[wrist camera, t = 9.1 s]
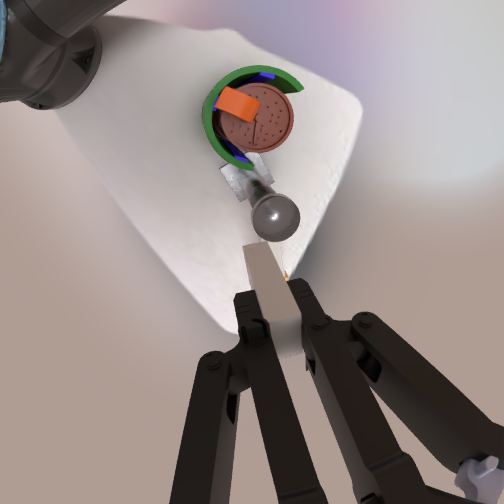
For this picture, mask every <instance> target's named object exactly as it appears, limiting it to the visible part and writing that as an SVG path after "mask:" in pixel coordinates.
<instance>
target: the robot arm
mask: <svg viewBox="0 0 504 504" xmlns="http://www.w3.org/2000/svg"><path fill="white" fill-rule="evenodd" d="M124 1H126V0H0V103H1V102H8V101H16V100H19V101H21V102H22V103H24V104H26V105H27V106H29V107H31V108H34V109H38V110H48V109H56V108H60V107H63V106H65V105H67V104H69V103H70V102H72V101H73V100H75V99H76V98H77V97H78V96H79V95H80V94H81V93H82V92H83V91H84V90H85V89H86V88H87V86H88V85H89V84H90V82H91V81H92V79H93V77H94V75H95V73H96V71H97V69H98V66H99V63H100V59H101V52H102V46H101V39H100V36H99V34H98V32H97V30H96V29H95V28H94V27H93V26H92V25H91V23H92V22H93V21H95V20H96V19H98V18H99V17H101V16H102V15H104V14H105V13H107V12H108V11H110V10H111V9H113V8H114V7H116V6H118V5H119V4H121V3H123V2H124ZM243 251H244V257H245V262H246V267H247V272H248V277H249V282H250V286H251V289H252V290H250V291H245V292H241V293H236V295H235V298H234V300H233V302H234V307H235V312H236V317H237V322H238V333H239V337H240V341H239V343H238V344H237V345H236V346H235V348H233V349H232V350H230V351H228V352H226V353H223V352H221V351H211V352H208V353H206V354H204V355H203V356H202V357H201V358H200V360H199V363H198V366H197V371H196V375H195V380H194V384H193V389H192V393H191V398H190V402H189V407H188V411H187V416H186V422H185V426H184V430H183V435H182V440H181V445H180V450H179V455H178V460H177V465H176V470H175V475H174V481H173V486H172V492H171V497H170V503H169V504H229V498H230V489H231V479H232V469H233V459H234V450H235V440H236V430H237V421H238V410H239V401H240V393H241V392H242V391H244V390H246V389H248V388H250V387H251V390H252V394H253V399H254V403H255V407H256V412H257V416H258V420H259V425H260V429H261V433H262V437H263V441H264V445H265V450H266V453H267V458H268V462H269V466H270V470H271V473H272V477H273V481H274V485H275V489H276V493H277V497H278V503H279V504H328V501H327V498H326V495H325V493H324V491H323V489H322V487H321V485H320V483H319V480H318V478H317V474H316V471H315V468H314V466H313V462H312V460H311V456H310V453H309V451H308V447H307V445H306V442H305V439H304V435H303V433H302V429H301V426H300V423H299V420H298V417H297V414H296V411H295V408H294V405H293V402H292V399H291V396H290V393H289V390H288V387H287V383H286V380H285V377H284V374H283V371H282V368H281V365H280V362H279V359H283V358H287V357H291V356H294V355H298V354H302V353H303V349H304V352H305V354H306V371H307V370H308V368H309V371H310V373H311V376H312V378H313V381H314V383H315V386H316V388H317V391H318V394H319V396H320V398H321V401H322V404H323V406H324V409H325V411H326V414H327V417H328V419H329V422H330V424H331V427H332V429H333V432H334V435H335V437H336V440H337V442H338V445H339V448H340V450H341V453H342V455H343V458H344V461H345V463H346V466H347V468H348V471H349V474H350V476H351V479H352V484H353V491H354V495H355V497H356V500H357V502H358V504H496V503H497V501H498V499H499V497H500V494H501V493H502V490H503V488H504V427H503V426H501V425H499V424H496V423H493V422H492V421H491V420H490V419H489V418H488V417H487V416H486V415H485V414H484V413H483V412H482V411H480V409H478V408H477V407H476V406H475V405H474V404H473V403H472V402H471V401H470V400H469V399H468V398H467V397H466V396H465V395H464V394H463V393H462V392H461V391H460V390H459V389H457V388H456V387H455V386H454V385H453V384H452V383H451V382H450V381H449V380H448V379H447V378H446V377H445V376H444V375H443V374H441V373H440V372H439V371H438V370H437V369H436V368H435V367H434V366H433V365H431V364H430V363H429V362H428V361H427V360H426V359H425V358H424V357H423V356H422V355H421V354H420V353H418V352H417V351H416V350H415V349H414V348H413V347H412V346H411V345H409V344H408V343H407V342H406V341H405V340H404V339H403V338H402V337H400V336H399V335H398V334H397V333H396V332H395V331H394V330H392V329H391V328H390V327H389V326H388V325H387V324H385V323H384V322H383V321H382V320H381V319H380V318H379V317H378V316H376V315H375V314H373V313H370V312H360V313H357V314H356V315H354V316H353V318H352V320H347V321H338V320H333V319H332V318H331V317H330V316H328V315H326V314H325V313H324V311H323V309H322V307H321V306H320V304H319V302H318V300H317V299H316V297H315V295H314V293H313V291H312V290H311V288H310V286H309V284H308V283H307V282H306V281H305V280H303V279H302V278H298V279H294V280H290V281H286V280H285V278H284V276H283V274H282V271H281V269H280V267H279V265H278V263H277V261H276V259H275V257H274V255H273V252H272V250H271V248H270V246H269V244H268V242H267V241H263V242H259V243H254V244H250V245H245V246H243ZM369 386H370V387H371V388H372V389H373V390H374V391H375V392H376V393H377V395H378V396H379V397H380V398H381V399H382V400H383V401H384V402H385V403H386V405H387V406H388V407H389V408H390V409H391V410H392V411H393V412H394V413H395V414H396V415H397V417H398V418H399V419H400V420H401V421H402V422H403V423H404V424H405V425H406V426H407V427H408V429H409V430H410V431H411V432H412V433H413V434H414V435H415V436H416V437H417V438H418V439H419V440H420V442H421V443H422V444H423V445H424V446H425V447H426V448H427V449H428V450H429V451H430V453H432V455H433V456H434V457H435V458H436V459H437V460H438V461H439V462H440V463H441V464H442V465H443V466H445V467H446V468H448V469H449V470H450V471H452V472H454V473H456V474H457V475H456V478H455V485H456V486H457V487H459V488H460V489H461V490H463V491H464V493H465V498H462V497H459V496H456V495H453V494H449V493H447V492H444V491H441V490H438V489H435V488H432V487H430V486H427V485H425V483H424V481H423V479H422V477H421V475H420V473H419V470H418V468H417V466H416V464H415V462H414V460H413V459H412V457H411V456H410V455H409V454H407V453H405V452H403V451H402V450H401V448H400V447H399V444H398V443H397V441H396V438H395V437H394V434H393V432H392V430H391V428H390V426H389V424H388V422H387V420H386V418H385V416H384V414H383V412H382V410H381V408H380V406H379V404H378V402H377V400H376V398H375V397H374V395H373V393H372V391H371V389H370V387H369Z"/></svg>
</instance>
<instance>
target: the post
mask: <svg viewBox="0 0 504 504" xmlns="http://www.w3.org/2000/svg"><path fill="white" fill-rule="evenodd" d="M244 154H245V155H246V156H247V157H248V158H249V159H250V160H251V161H252V162H253V163H254V168H253V171H249V170H244V169H241V168H238V167H236V166H234V165H232V164H230V163H228V164H226V165H224V166H223V167H221V168H219V169H220V171H221V173H222V174H223V176H224V177H225V179H226V180H227V182H228V183H229V185H230V186H231V188H232V190H233V191H234V193H235V194H236V196H237V197H238V199H239V200H240V202H242V201H243V200H245V199H247V198H248V200H249V202H250V204H251V206H252V208H253V209H252V213H251V221H252V224H253V227H254V229H255V231H256V233H257V234H258V235H259V236H260V237H261V238H262V239H264V240H266V241H269V242H280V241H283V240H286V239H288V238H289V237H290V236H292V235H293V234H294V233H295V231H296V230H297V228H298V226H299V223H300V212H299V209H298V207H297V206H296V205H295V204H294V202H293V201H292V200H291V199H290V198H289V197H287V196H285V195H283V194H278V193H275V191H274V190H273V189H272V188H271V187H270V184H272V183H274V182H275V181H274V180H273V178H272V176H271V174H270V173H269V171H268V169H267V167H266V166H265V164H264V162H263V161H262V159H261V157H260V155H259V154H258V153H252V152H246V153H244Z"/></svg>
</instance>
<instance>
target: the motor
mask: <svg viewBox="0 0 504 504" xmlns="http://www.w3.org/2000/svg"><path fill="white" fill-rule="evenodd" d="M236 85H237V87H238V88H236V89H232V88H230V86H236ZM222 89H223V91H222V93H221V94H220V96H219V97H217V96H218V95H219V93H220V92H221V90H222ZM303 89H304V87H303V86H302V85H301V84H300V82H298V81H297V80H296V79H295V78H294V77H293V76H291V75H290V74H288V73H286V72H285V71H283V70H280V69H278V68H274V67H270V66H262V65H257V66H248V67H244V68H241V69H238V70H236V71H234V72H232V73H230V74H228V75H227V76H225V77H224V78H223V79H222V80H221V81H220V82H219V83H218V84H217V85H216V86H215V87H214V89H213V90H212V91H211V93H210V94H209V96H208V97H207V99H206V100H205V103H204V105H203V109H202V122H203V125H204V128H205V131H206V134H207V137H208V139H209V141H210V143H211V145H212V147H213V148H214V150H215V151H216V152H217V153H218V154H219V155H220V156H221V157H222V158H223V159H224V160H226V161H227V162H228V163H230V164H232V165H234V166H236V167H238V168H241V169H244V170H249V171H253V168H254V163H253V162H252V161H251V160H250V159H249V158H248V157H247V156H246V155H245V154H244V153H243V152H242V151H241V150H240V149H242V150H244V151H247V152H252V153H263V152H268V151H271V150H273V149H275V148H277V147H278V146H280V145H281V144H282V143H283V142H284V141H285V140H286V139H287V137H288V136H289V134H290V132H291V130H292V127H293V121H294V114H293V109H292V106H291V104H290V102H289V100H288V98H287V97H286V96H285V95H284V94H287V93H295V92H300V91H301V90H303ZM212 124H213V126H214V128H215V130H216V131H217V132H218V133H219V134H220V135H221V136H222V137H224V138H226V139H228V140H230V141H228V140H225V139H222V138H221V139H219V138H218V137H216V136H215V134H214V131H213V127H212ZM231 142H232V143H233V144H232V143H231ZM237 147H238V148H240V149H238V148H237Z"/></svg>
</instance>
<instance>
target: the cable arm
mask: <svg viewBox="0 0 504 504" xmlns="http://www.w3.org/2000/svg"><path fill="white" fill-rule="evenodd" d="M258 237H259V242H263V241H266V240H264V239H262V238H261V237H260V236H259V235H258ZM267 242H268V244H269V246H270V248H271V250H272V252H273V255H274V257H275V259H276V261H277V263H278V265H279V267H280V269H281V271H282V274H283V276H284V278H285V280H286V281H289V279H288V275H287V273H286V271H285V269H284V263H283V256H282V249H281V242H269V241H267Z"/></svg>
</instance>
